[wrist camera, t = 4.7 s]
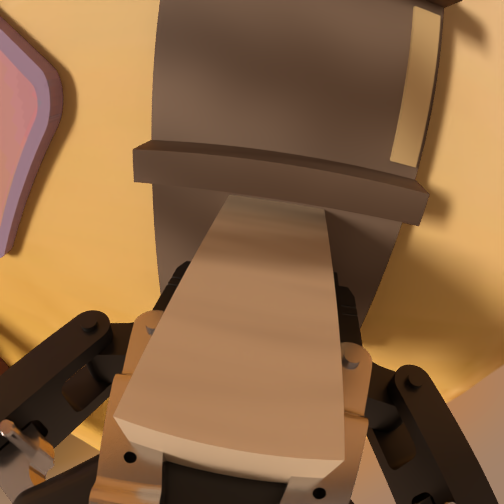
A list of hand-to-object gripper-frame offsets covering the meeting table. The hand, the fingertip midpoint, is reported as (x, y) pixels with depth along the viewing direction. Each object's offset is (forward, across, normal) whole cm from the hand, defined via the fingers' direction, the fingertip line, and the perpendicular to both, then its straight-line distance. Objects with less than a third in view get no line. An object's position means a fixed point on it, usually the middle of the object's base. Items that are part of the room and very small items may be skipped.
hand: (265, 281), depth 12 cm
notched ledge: (+2, 0, -8) cm, 8 cm away
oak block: (+1, 0, 0) cm, 1 cm away
